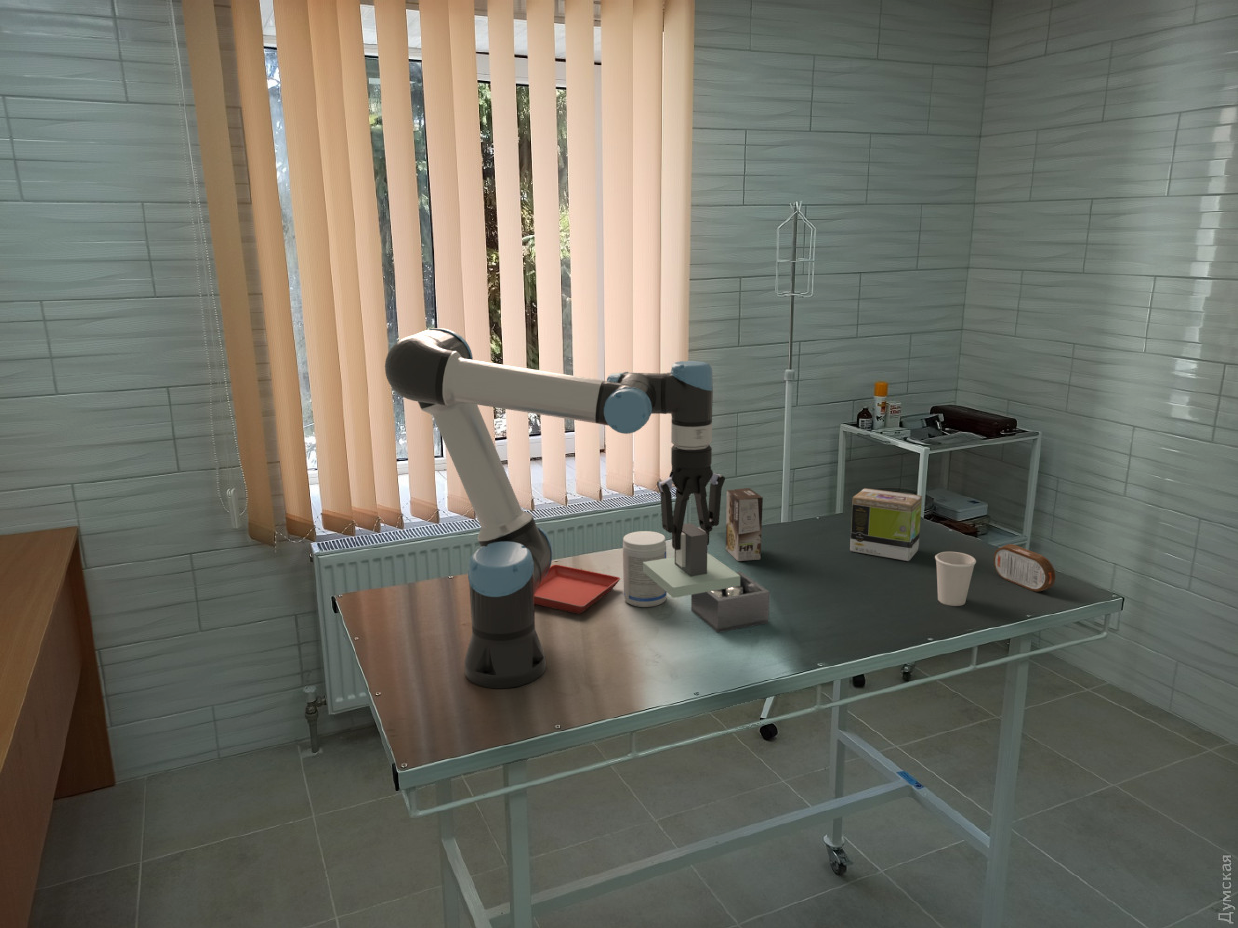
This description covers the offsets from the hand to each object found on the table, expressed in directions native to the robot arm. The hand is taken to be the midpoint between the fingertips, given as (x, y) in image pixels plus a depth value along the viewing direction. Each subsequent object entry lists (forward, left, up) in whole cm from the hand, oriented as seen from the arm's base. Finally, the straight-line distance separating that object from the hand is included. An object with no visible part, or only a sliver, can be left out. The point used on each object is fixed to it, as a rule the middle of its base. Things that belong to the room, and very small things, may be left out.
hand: (690, 562), depth 172 cm
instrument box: (+14, +9, -18) cm, 24 cm away
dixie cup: (+63, -3, -18) cm, 65 cm away
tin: (+84, -2, -18) cm, 86 cm away
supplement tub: (+1, +24, -18) cm, 30 cm away
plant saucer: (-14, +33, -18) cm, 40 cm away
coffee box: (+35, +40, -18) cm, 56 cm away
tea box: (+69, +28, -18) cm, 76 cm away
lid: (0, 0, -3) cm, 3 cm away
